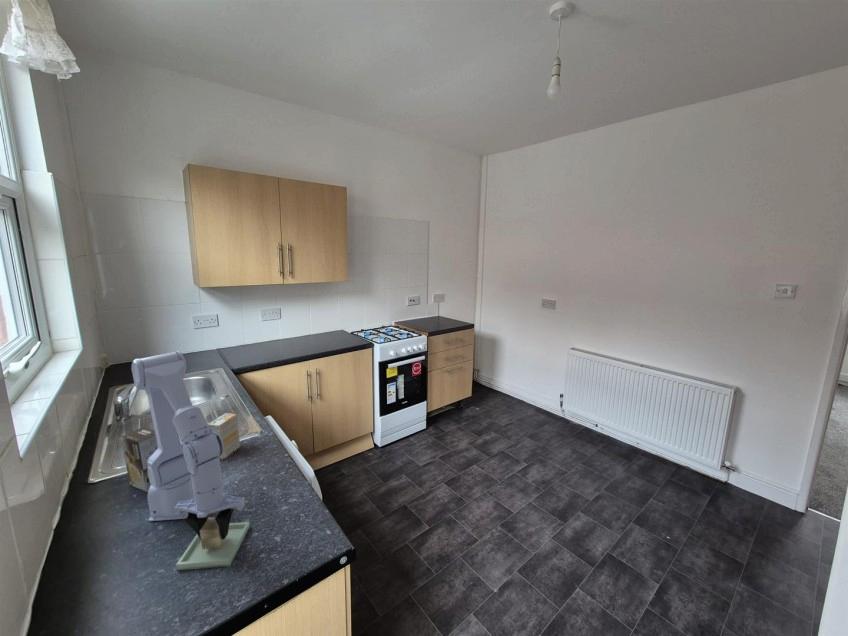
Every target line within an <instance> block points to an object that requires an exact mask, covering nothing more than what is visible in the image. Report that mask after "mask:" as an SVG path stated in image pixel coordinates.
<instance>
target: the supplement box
mask: <svg viewBox="0 0 848 636" xmlns="http://www.w3.org/2000/svg"><path fill="white" fill-rule="evenodd" d="M208 425H209V427H210V428H213V429H214V431H216V432H217V433H218V434H219V436H220V438H221V440H222V444H223V453H222V455H219V458H222V459H224V458H225V457H227V456H228V455H229V454H230V453H232V452H233V451H234V450H235V449H237V448H238V447H239V446H240V447H241V439H240V433H239V424H238V414H235V413H227V412H225V413H224V414H222V415H220V416H219V417H217V418H215V419H214V420H212V421H210V422H208ZM232 454H233V453H232ZM227 458H228V457H227Z"/></svg>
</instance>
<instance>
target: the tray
mask: <svg viewBox="0 0 848 636" xmlns="http://www.w3.org/2000/svg"><path fill="white" fill-rule="evenodd" d="M250 524H251V523H250V521H242V522H231V523H229V529H228V536H227V537H226V539H225V541H224V543H223V544H222V546H221V548H213V549H202V543H201V540H200V538H199V536H198V534H197V533H196V535H195V537H193V539H192V541H191V542H190V544H189V545H188V546H187V548H186V550H185V551H184V553H183V554H182V555H181V557H180V558H179V560H178V561H177V563H176V564H175V567H176V570H177V571H186V570H187V571H189V570H197V569H198V570H199V569H209V568H219V567H221V568H222V567H230V566H231V565H232V563H233V561H234V559H235V557H236V556H237V553H238V551H239V549H240V547H241V546H242V544H243V541H244V540H245V538H246V535H248V534H247V533H248V531H249V530H250V528H251V525H250Z"/></svg>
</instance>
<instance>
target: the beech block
mask: <svg viewBox="0 0 848 636" xmlns="http://www.w3.org/2000/svg"><path fill="white" fill-rule="evenodd" d="M215 518H216V516H213V517H212V516H211V517H210V516H209V517H207V521H206V522H205V524H204V525H203V527H202V528H201V529H200V536H201V543H202V549H213V548H221V546H222V544H223V543H224V541H225V539H226V537H227V536H228V534H227V536H226V537H225V539H221V536H220V529H219V526H218V524H217V522H216V520H215Z"/></svg>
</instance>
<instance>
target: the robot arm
mask: <svg viewBox="0 0 848 636" xmlns="http://www.w3.org/2000/svg"><path fill="white" fill-rule="evenodd" d="M186 371H187V361H186V359H185V356H184V354H183V353H181V352H180V351H179V350H174V351H173V352H167V353H163V354H157V355H153V356H148V357H143V358H135V359H134V360H132V363H131V374H132V378H133V383H134V386H135V389H136V390H139V391H140V390H141V391H142V390H143V391H145V393H146V396H147V400H148V404H149V410H150V414H151V419H152V424H153V430H154V431H155V434H156V439H157V444H158V449H157V450H156V451H155V452H154V453H153V454H152V455H151V456H150V457H149V459H148V462H147V465H148V477H149V480H150V483H151V486H150V488H149V491H148V492H147V504H148V510H149V515H150V516H149V519H148V522H156V521H157V522H158V521H172V520H182V519H183V520H185V524H186V525H188V526H189V527H191V528H192V529H193V531H195V533H196V535H197V534H198V536H199V538H200V540H201V536H200V529H201V528H202V527H203V525H204V524H205V522H206V521H207V519H208V515H210V514H213V513H217V512H218V513H217V515H216V516H215V517H216V518H215V520H216V522H217V524H218V526H219V529H220V536H221V539H225V537H226V536H227V534H228V529H229V523H230V521H231V518H232V515H233V512H234V510H235V509H236V510H237V511H242V510H243V509H244V507H245V505H246V499H245V498H246V497H243V496H241V497H240V496H234V495H230V494H229V495H228V494H225V493H224V486H223V483H224V482H223V476H222V470H221V460H220V459H219V455H222V453H223V444H222V440H221V438H220V436H219V434H218V433H217V432H216V431H214V429H213V428H210V427H209V425H208V424H209V422H208V421H207V419H206V418H205V416H204V413H203V411H202V410H201V408H200V407H199V406H193V404H192V400H191V399H190V395H189V393H188V390H187V387H186V383H185V381H184V378H185V377H186Z"/></svg>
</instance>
